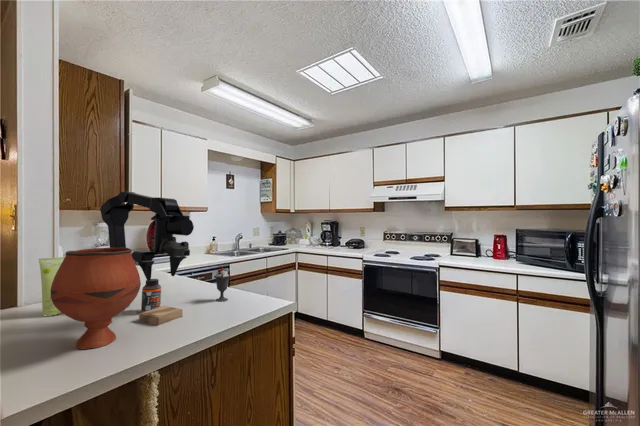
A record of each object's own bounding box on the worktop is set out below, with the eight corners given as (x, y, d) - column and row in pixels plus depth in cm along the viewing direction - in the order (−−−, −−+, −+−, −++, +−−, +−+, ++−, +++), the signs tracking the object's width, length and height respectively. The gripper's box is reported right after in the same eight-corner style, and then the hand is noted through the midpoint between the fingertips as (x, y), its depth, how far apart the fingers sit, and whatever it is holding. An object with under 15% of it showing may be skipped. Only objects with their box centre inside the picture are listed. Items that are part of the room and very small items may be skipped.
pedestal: (139, 320, 91) (139, 312, 91) (163, 312, 100) (164, 305, 100) (158, 325, 88) (158, 316, 88) (182, 316, 96) (182, 308, 96)
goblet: (126, 323, 89) (129, 245, 90) (149, 340, 77) (152, 250, 77) (41, 343, 74) (46, 248, 75) (53, 368, 62) (59, 255, 63)
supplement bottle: (151, 314, 98) (152, 281, 98) (136, 312, 99) (138, 280, 99) (164, 309, 104) (165, 278, 104) (150, 307, 105) (151, 277, 105)
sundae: (210, 301, 114) (211, 264, 114) (218, 297, 121) (219, 262, 121) (225, 302, 113) (226, 265, 113) (232, 298, 119) (233, 263, 120)
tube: (49, 317, 92) (52, 258, 93) (35, 317, 93) (38, 258, 93) (66, 312, 98) (69, 256, 99) (53, 311, 98) (55, 256, 99)
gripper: (155, 236, 86) (151, 287, 86) (202, 234, 103) (199, 276, 103) (131, 233, 90) (128, 282, 90) (180, 232, 108) (177, 272, 107)
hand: (161, 278), depth 97 cm, fingers open, 9 cm apart
